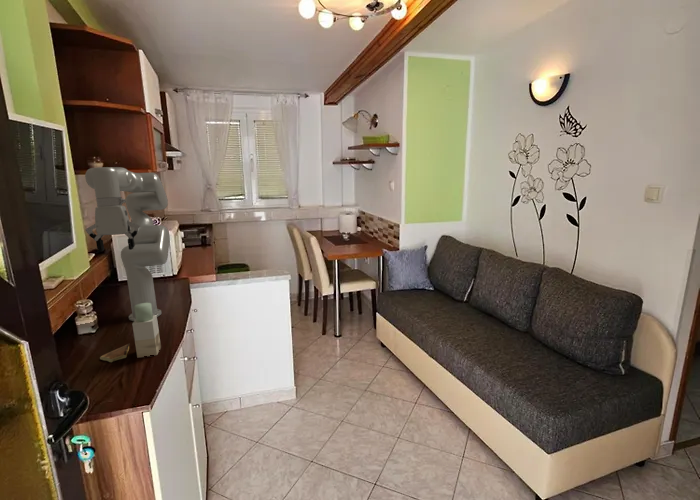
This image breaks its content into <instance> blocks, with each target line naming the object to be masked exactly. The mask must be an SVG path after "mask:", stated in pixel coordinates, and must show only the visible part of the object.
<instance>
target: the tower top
mask: <svg viewBox="0 0 700 500" xmlns="http://www.w3.org/2000/svg"><path fill="white" fill-rule="evenodd" d="M158 323H159V322H158V317H157V315H154V316H153V319H152V320H149V321H146V322H137V321H136V320H135V321H132V330H133V338H134V342H135V341H138V340H146V339H154V338H155V337H156V336H157V334H158V332H159V333H160V330H159V324H158Z"/></svg>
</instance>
